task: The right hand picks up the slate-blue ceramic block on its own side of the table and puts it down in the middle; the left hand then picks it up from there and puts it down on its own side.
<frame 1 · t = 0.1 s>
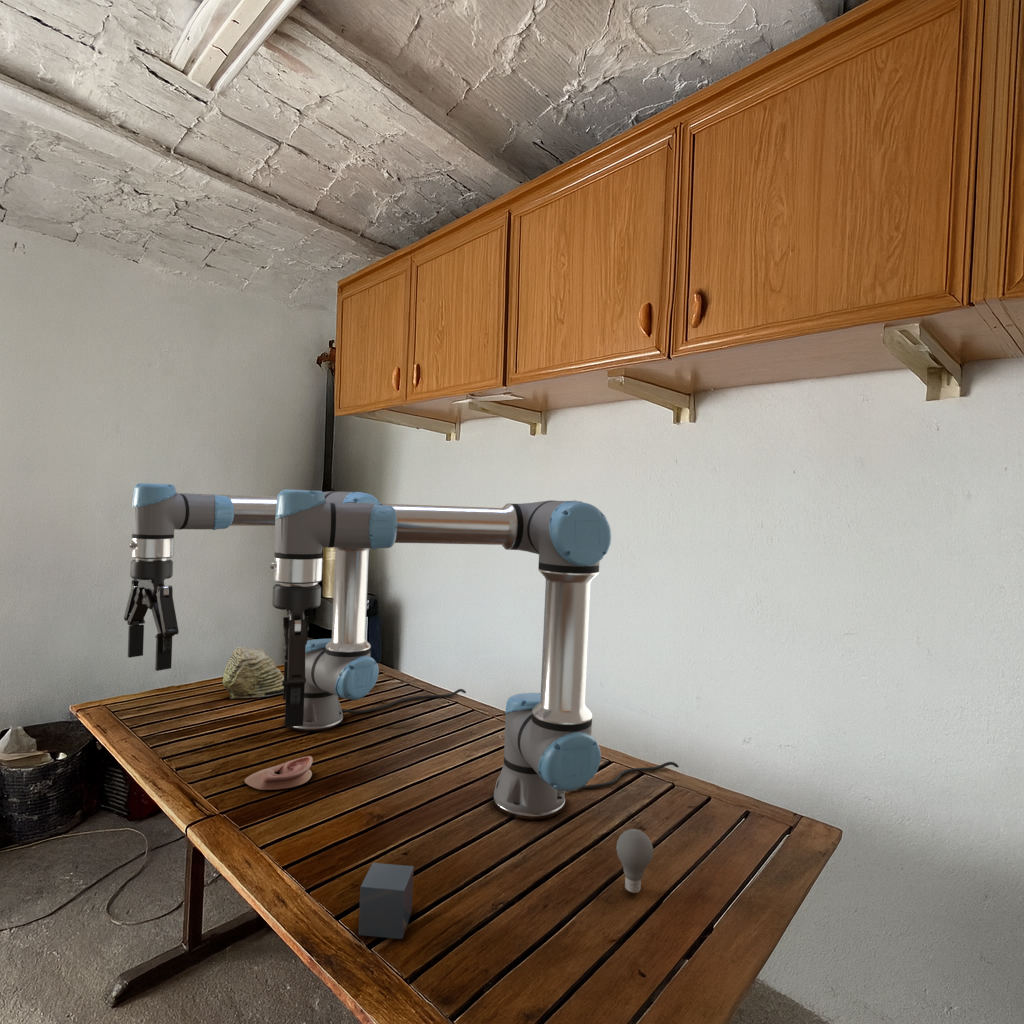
left hand: (148, 662, 129), 28 cm above the table, tool pointing down, fingers open, 13 cm apart
right hand: (292, 711, 105), 28 cm above the table, tool pointing down, fingers open, 13 cm apart
block: (385, 923, 95), on the table
light bulb: (632, 891, 106), on the table
anatomical model: (278, 780, 141), on the table
fossil: (254, 694, 198), on the table
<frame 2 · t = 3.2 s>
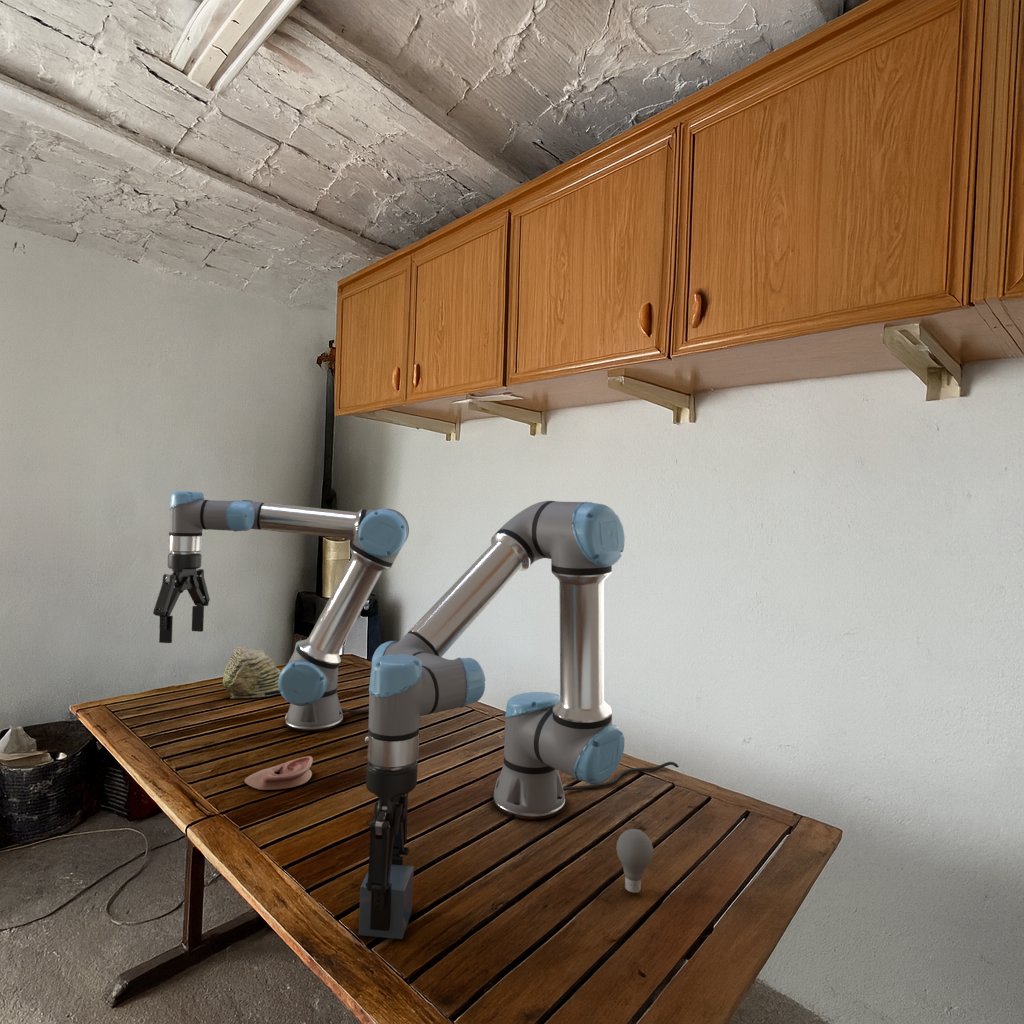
left hand: (182, 636, 159), 26 cm above the table, tool pointing down, fingers open, 13 cm apart
right hand: (386, 912, 95), 2 cm above the table, tool pointing down, fingers closed on block, 6 cm apart
block: (385, 923, 95), on the table, touching right hand
everything else where it was.
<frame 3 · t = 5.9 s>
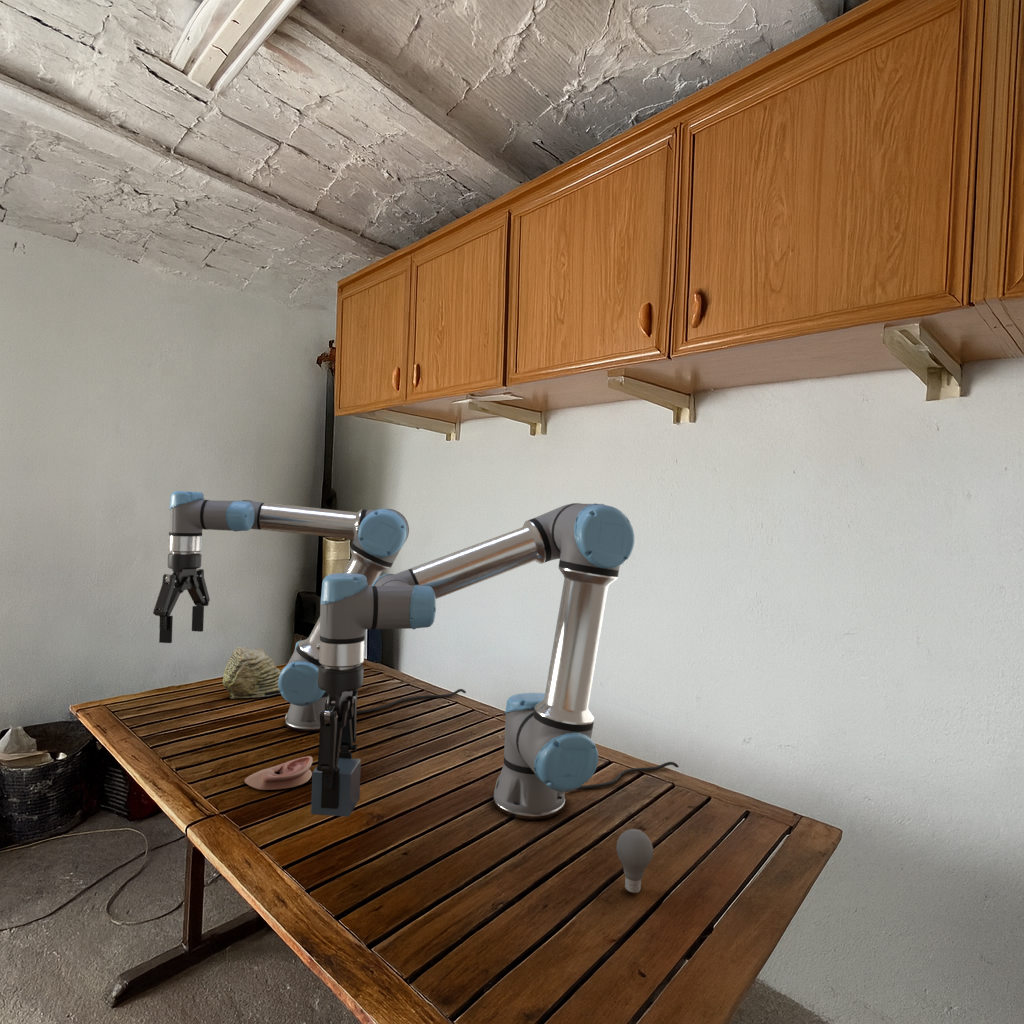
left hand: (182, 636, 159), 26 cm above the table, tool pointing down, fingers open, 13 cm apart
right hand: (336, 797, 109), 12 cm above the table, tool pointing down, fingers closed on block, 6 cm apart
block: (335, 806, 109), point 10 cm above the table, touching right hand
everything else where it was.
when the right hand's fingers open (3 cm above the table, at t = 8.7 s): block stays where it is, on the table.
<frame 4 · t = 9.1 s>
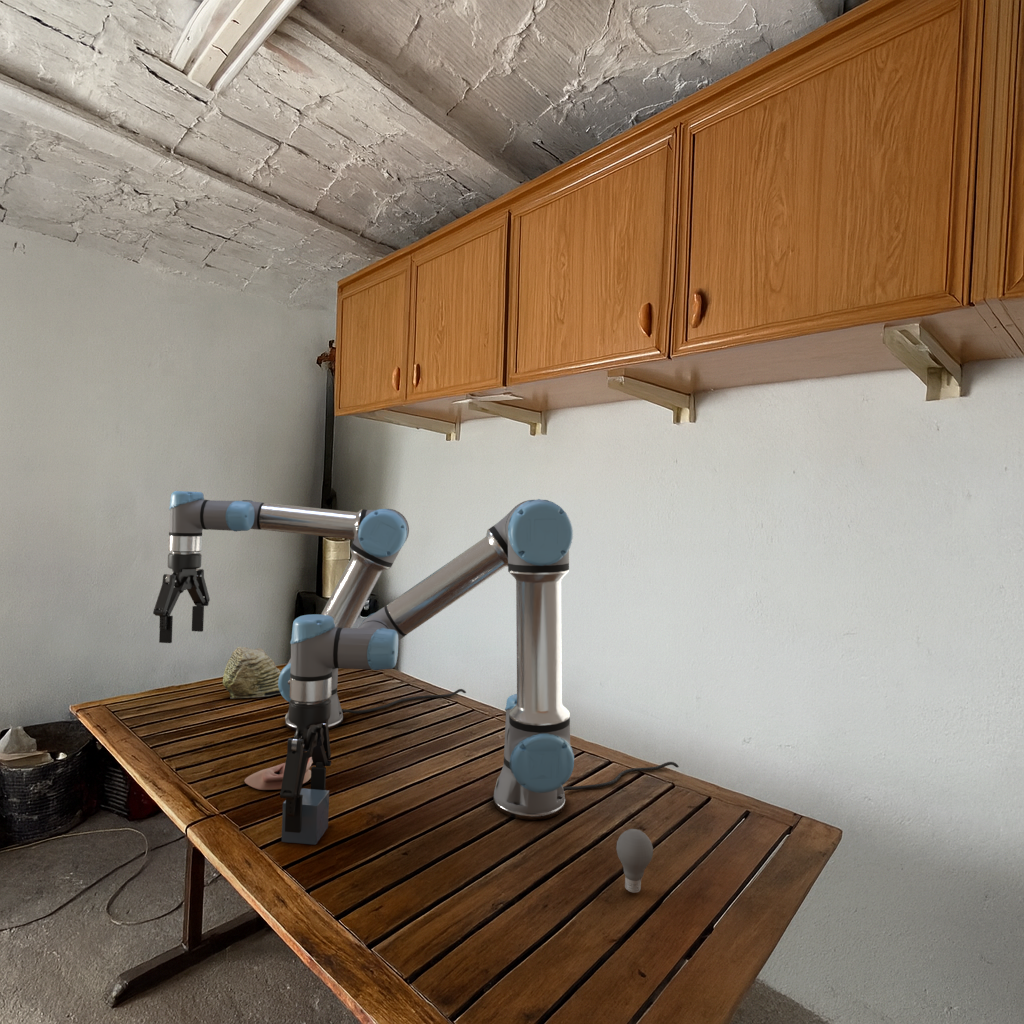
left hand: (182, 636, 159), 26 cm above the table, tool pointing down, fingers open, 13 cm apart
right hand: (305, 815, 119), 4 cm above the table, tool pointing down, fingers open, 11 cm apart
block: (305, 834, 119), on the table
everything else where it was.
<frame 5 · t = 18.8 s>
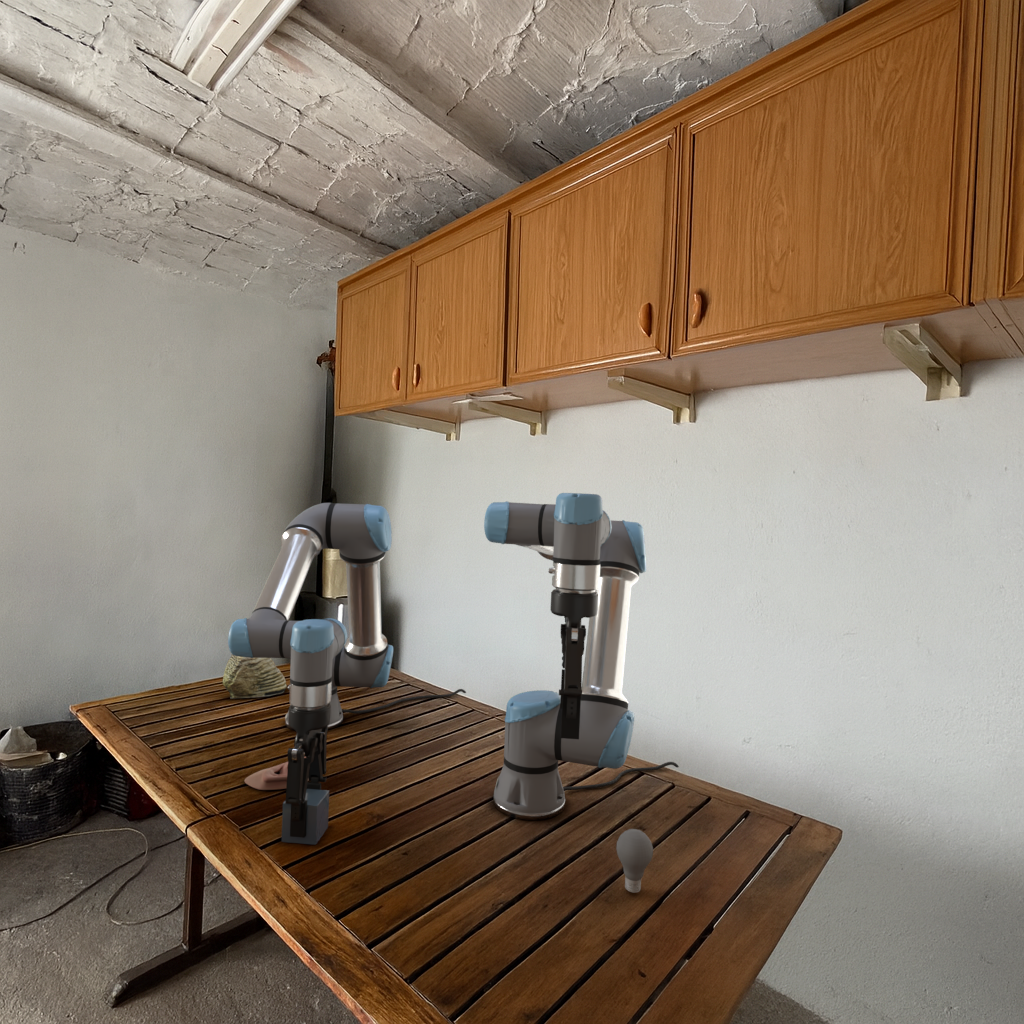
left hand: (305, 826, 119), 2 cm above the table, tool pointing down, fingers closed on block, 6 cm apart
right hand: (568, 722, 101), 29 cm above the table, tool pointing down, fingers open, 13 cm apart
block: (305, 834, 119), on the table, touching left hand
everything else where it was.
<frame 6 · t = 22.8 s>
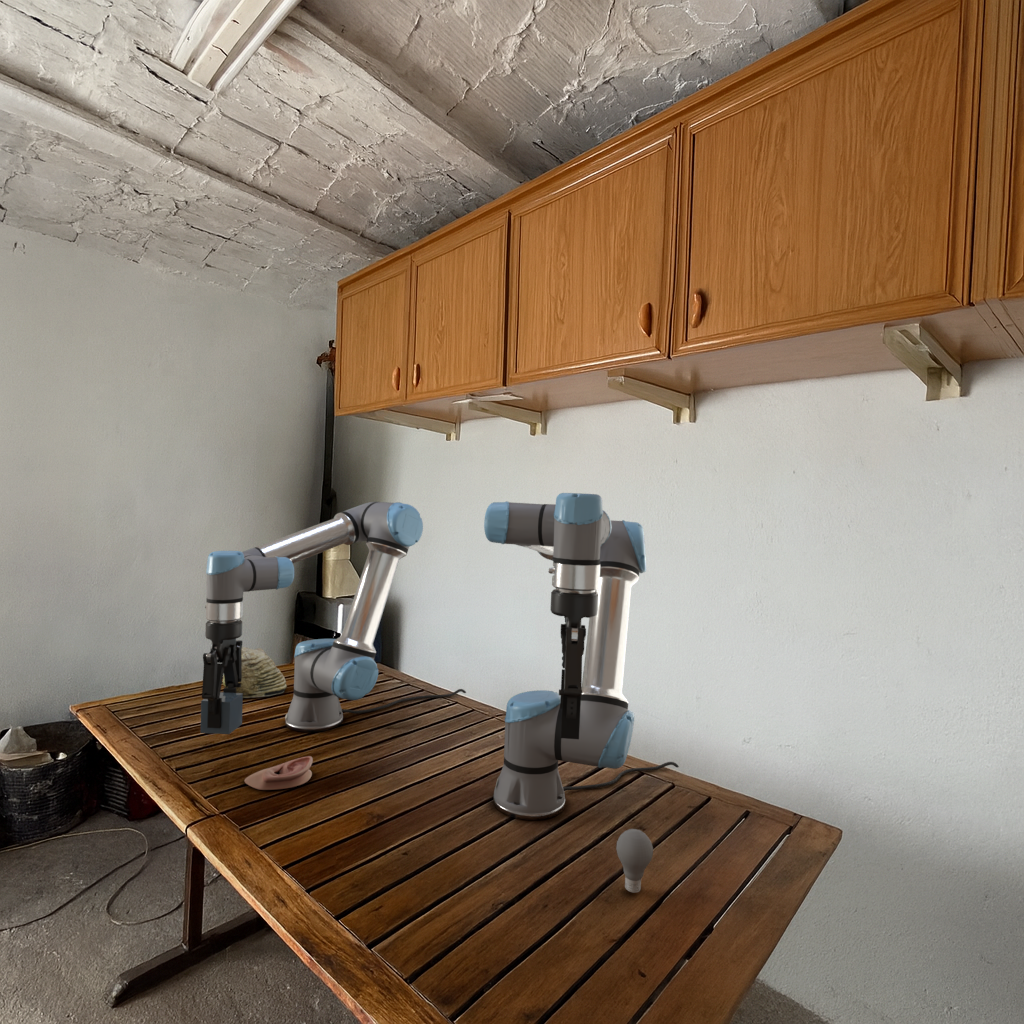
left hand: (221, 721, 143), 12 cm above the table, tool pointing down, fingers closed on block, 6 cm apart
right hand: (568, 722, 101), 29 cm above the table, tool pointing down, fingers open, 13 cm apart
block: (221, 728, 143), point 10 cm above the table, touching left hand
everything else where it was.
when the left hand's fingers open (3 cm above the table, at t = 27.1 s): block stays where it is, on the table.
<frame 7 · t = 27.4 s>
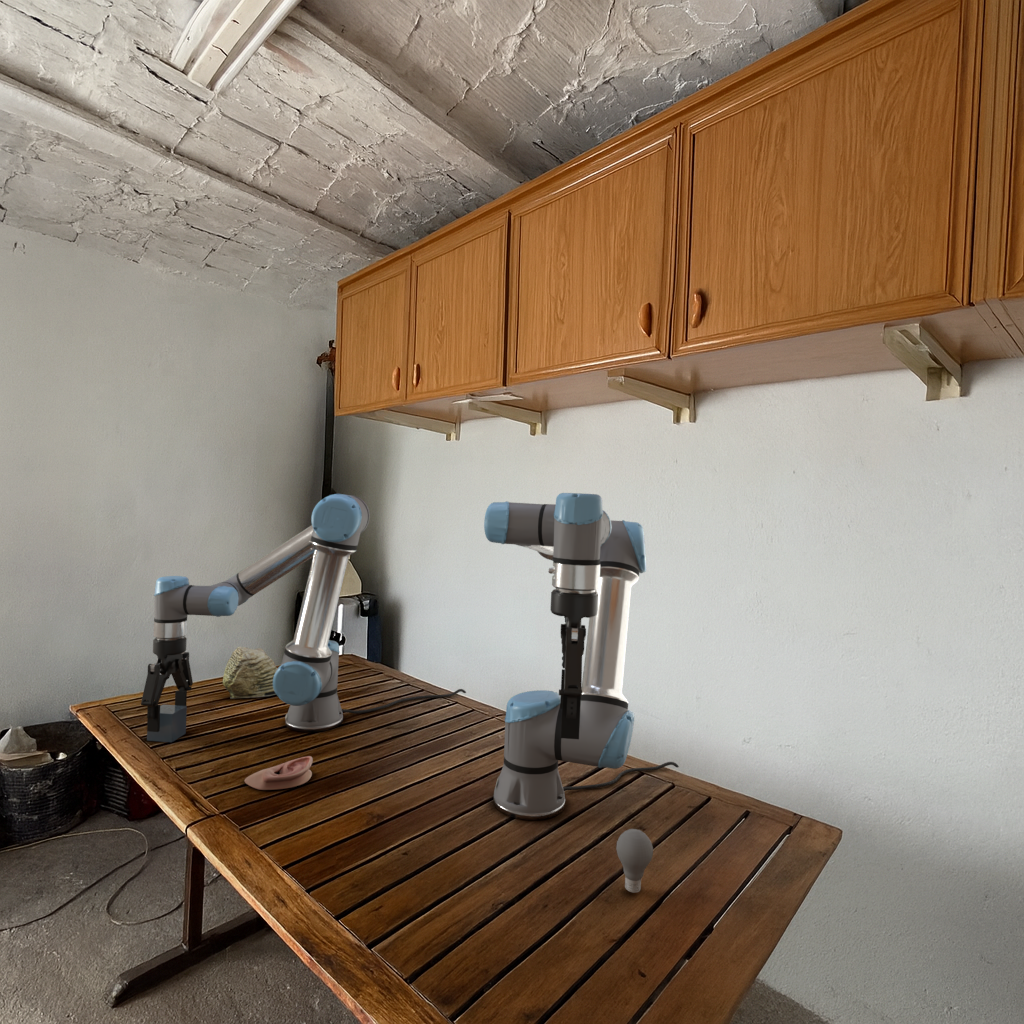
left hand: (167, 723, 162), 4 cm above the table, tool pointing down, fingers open, 10 cm apart
right hand: (568, 722, 101), 29 cm above the table, tool pointing down, fingers open, 13 cm apart
block: (166, 737, 162), on the table
everything else where it was.
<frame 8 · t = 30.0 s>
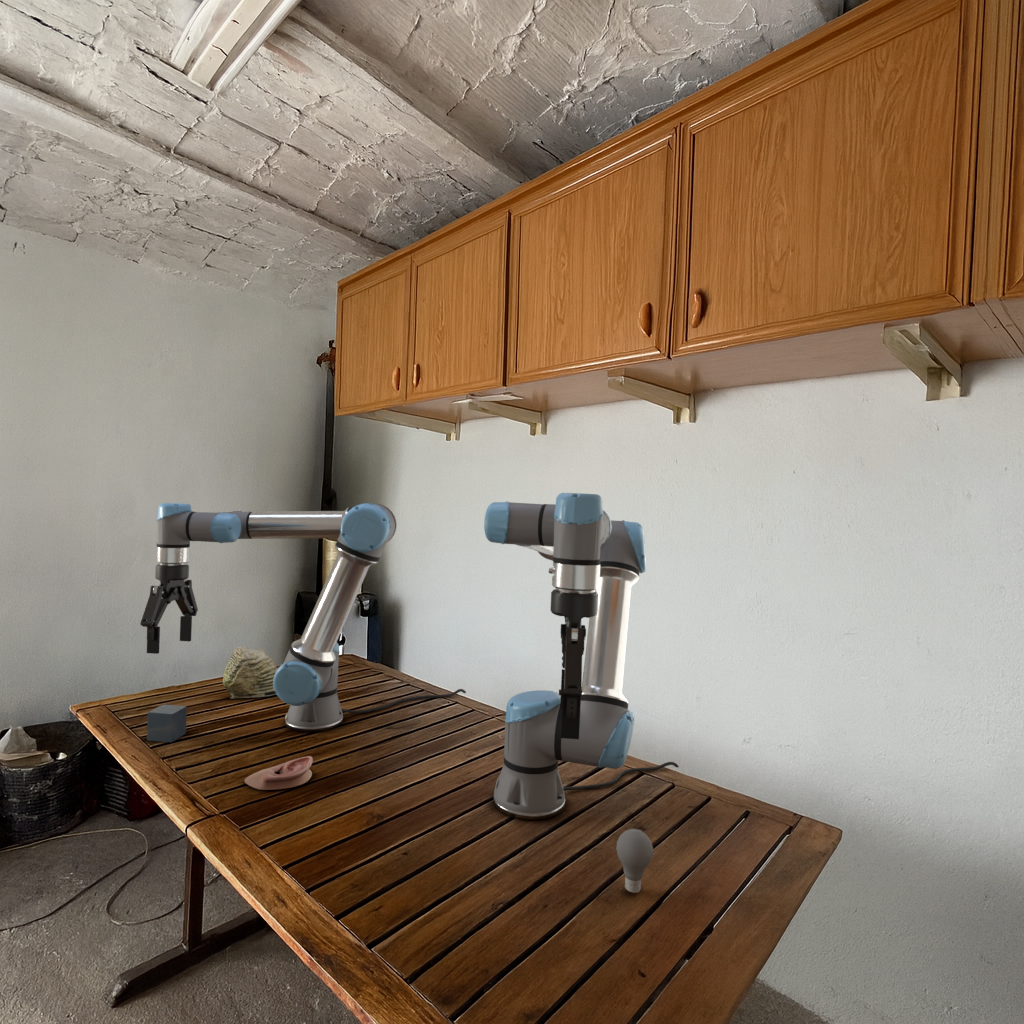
left hand: (169, 646, 161), 23 cm above the table, tool pointing down, fingers open, 13 cm apart
right hand: (568, 722, 101), 29 cm above the table, tool pointing down, fingers open, 13 cm apart
nothing on the table moved.
at the end: block inside the target area (0.0 cm from its centre), on the table; block tilted 0°; the two hands never held the block at the same time; the left hand is holding nothing; the right hand is holding nothing; block at rest at the end (0.0 cm/s) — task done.
